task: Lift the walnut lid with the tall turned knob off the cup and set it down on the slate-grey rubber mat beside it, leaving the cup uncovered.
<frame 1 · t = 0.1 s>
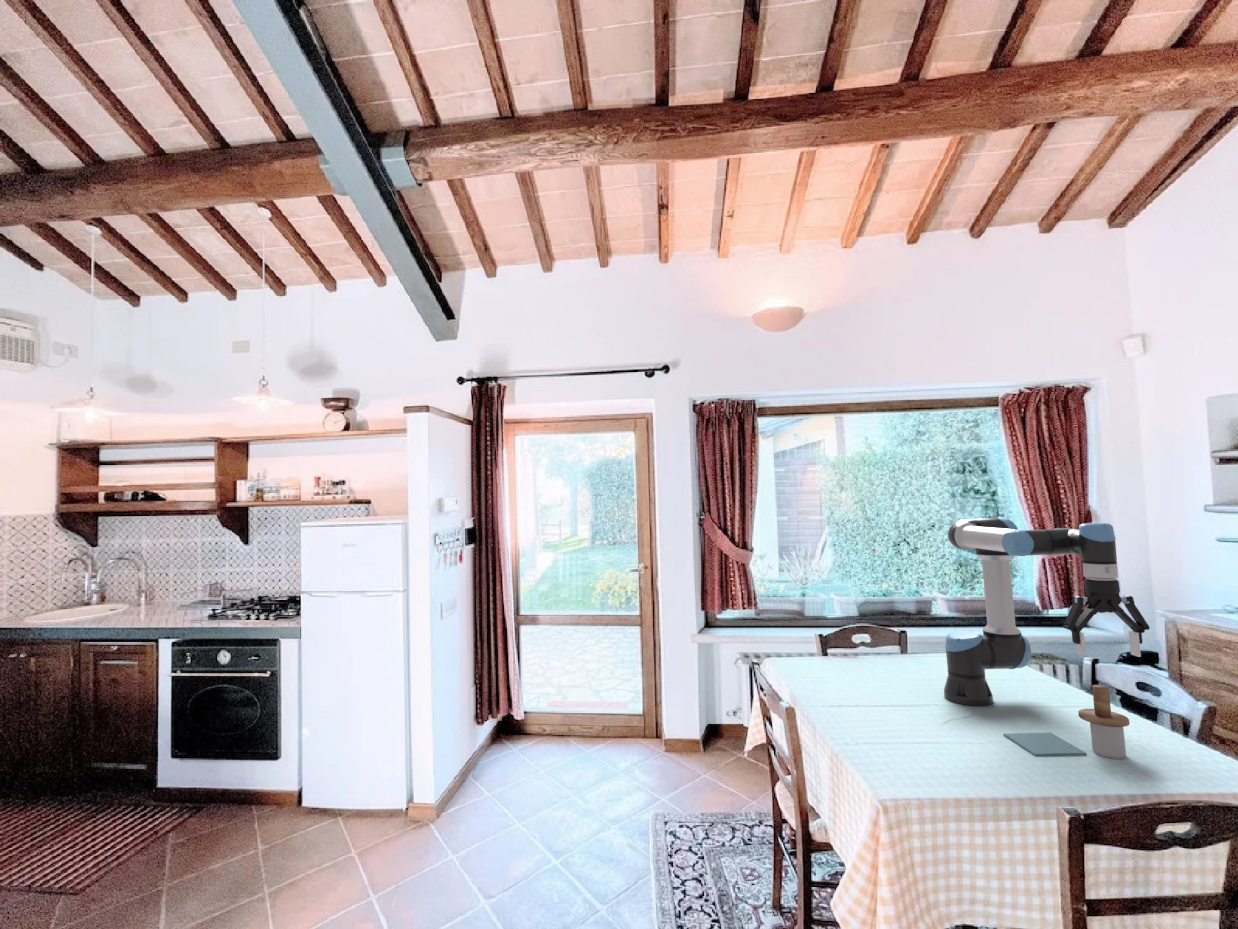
hand: (1108, 655, 157), 28 cm above the table, fingers open, 13 cm apart
cup: (1106, 752, 160), on the table, touching lid
mat: (1043, 744, 166), on the table
lid: (1103, 719, 161), point 9 cm above the table, touching cup
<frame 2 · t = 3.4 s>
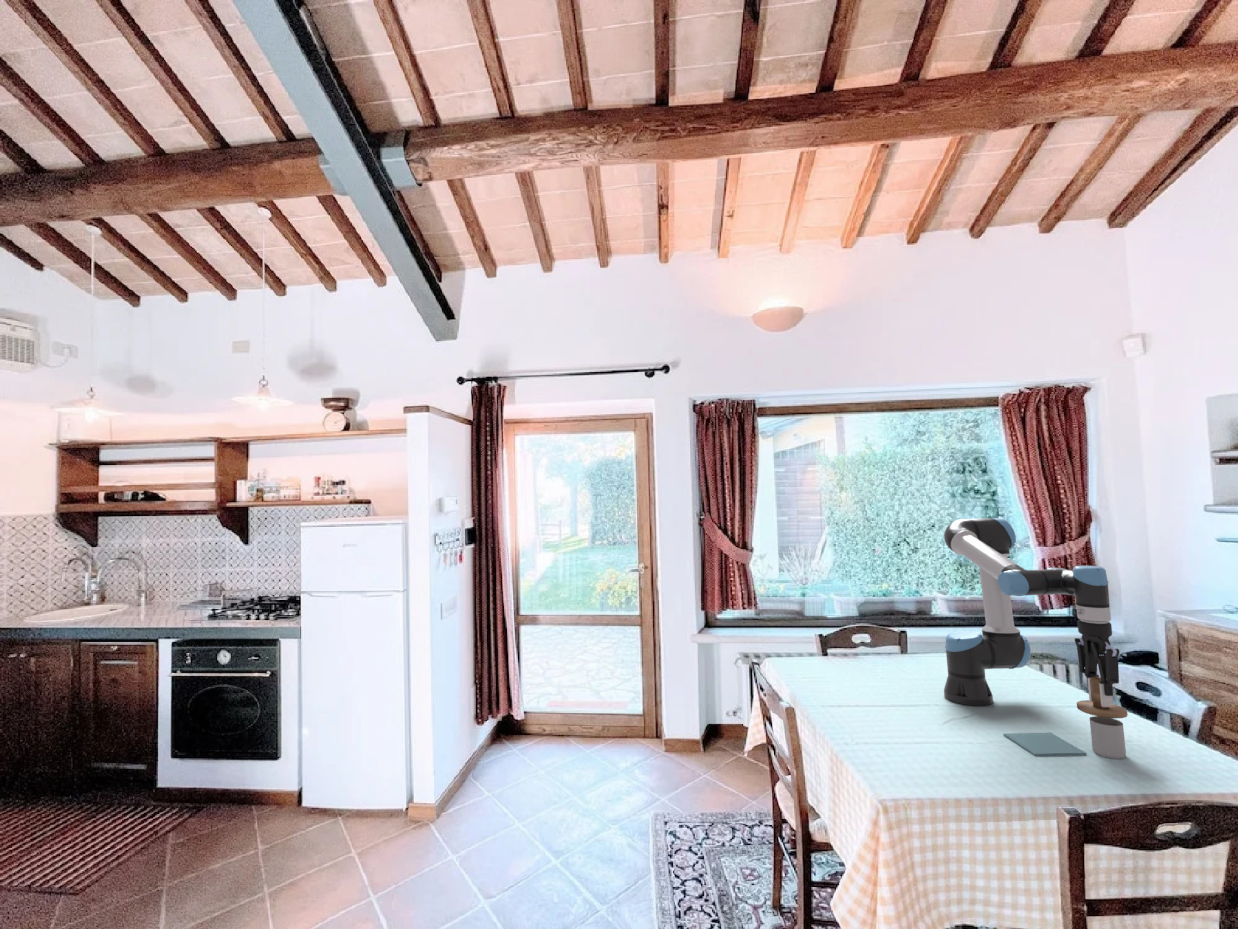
hand: (1101, 703, 161), 13 cm above the table, fingers closed on lid, 3 cm apart
cup: (1106, 752, 160), on the table
lid: (1101, 710, 161), point 11 cm above the table, touching gripper
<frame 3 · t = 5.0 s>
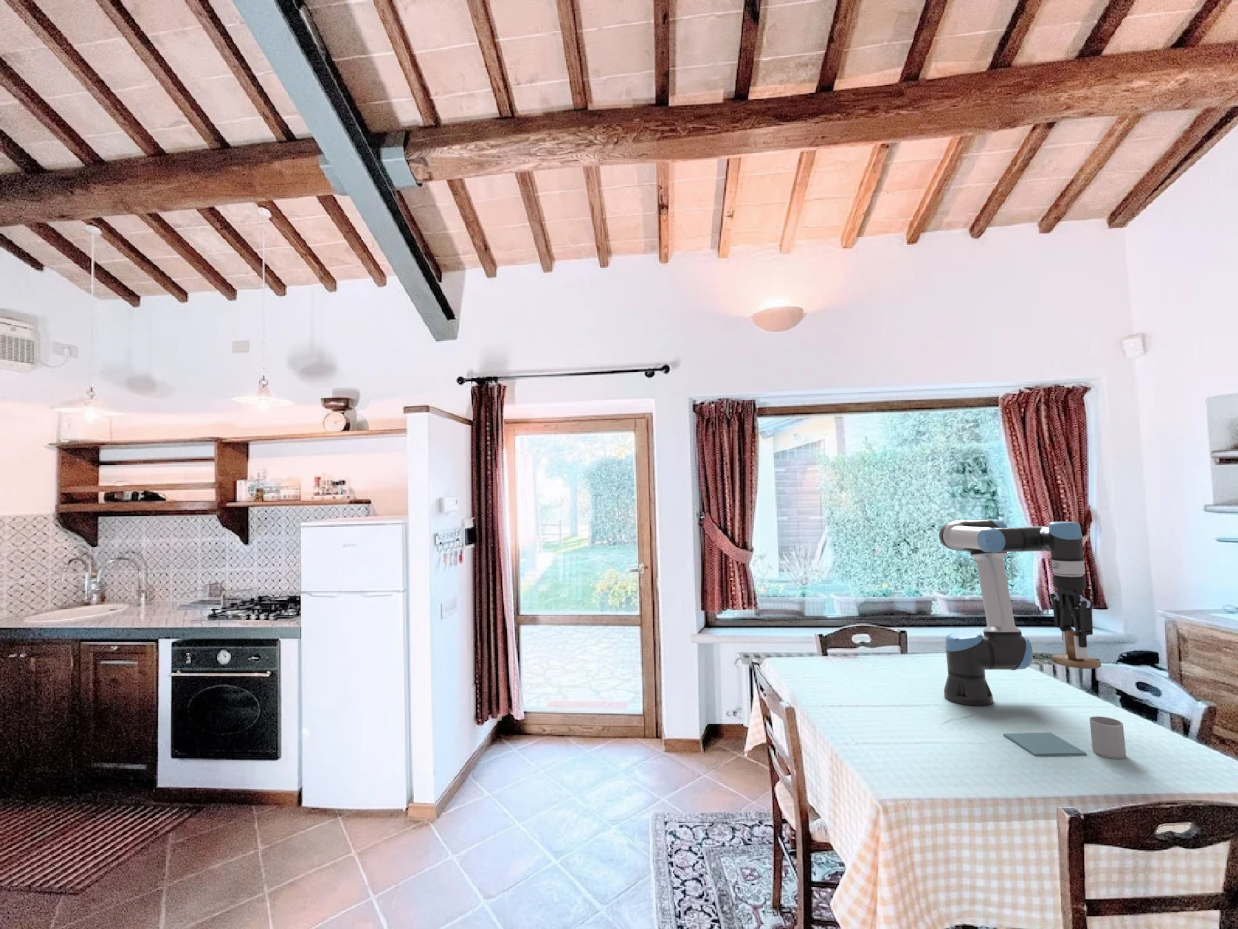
hand: (1075, 655, 164), 26 cm above the table, fingers closed on lid, 3 cm apart
lid: (1076, 663, 164), point 24 cm above the table, touching gripper
everything else where it was.
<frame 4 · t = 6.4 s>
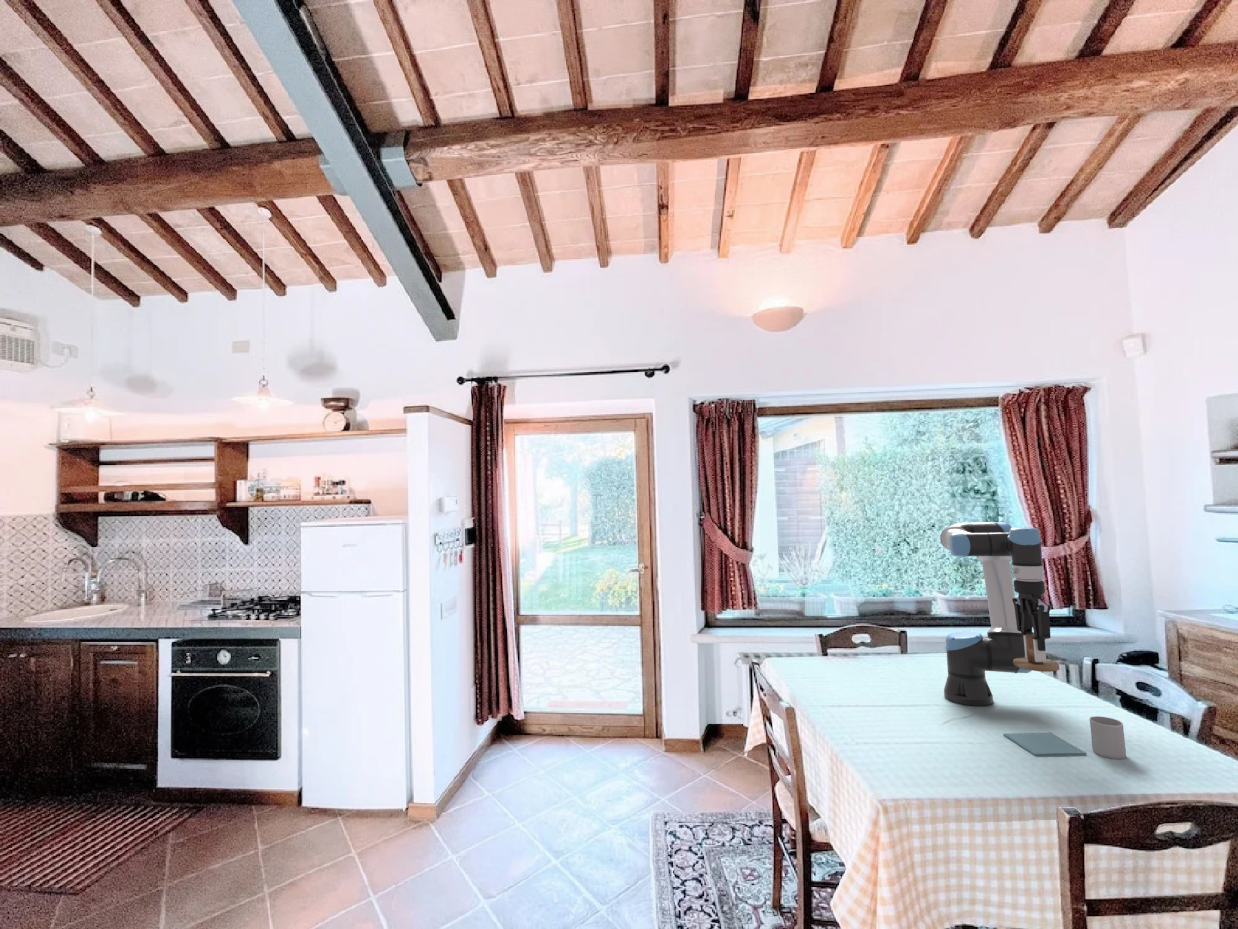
hand: (1035, 659, 167), 25 cm above the table, fingers closed on lid, 3 cm apart
lid: (1036, 666, 167), point 23 cm above the table, touching gripper
everything else where it was.
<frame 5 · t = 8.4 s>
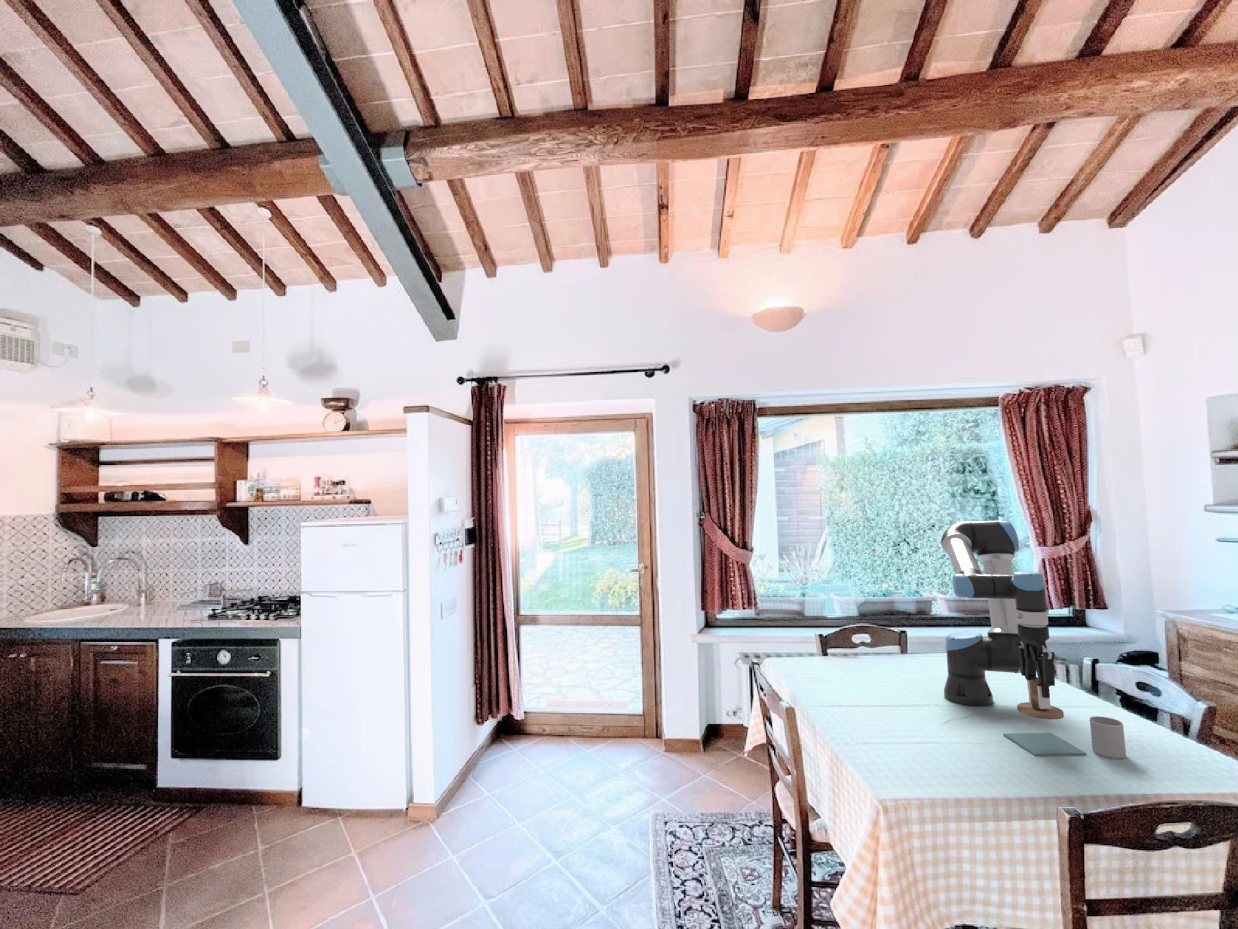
hand: (1039, 705, 166), 11 cm above the table, fingers closed on lid, 3 cm apart
lid: (1040, 712, 166), point 9 cm above the table, touching gripper
everything else where it was.
when the fingers open (4 cm above the table, at t = 10.2 s): lid drops 2 cm, resting on mat.
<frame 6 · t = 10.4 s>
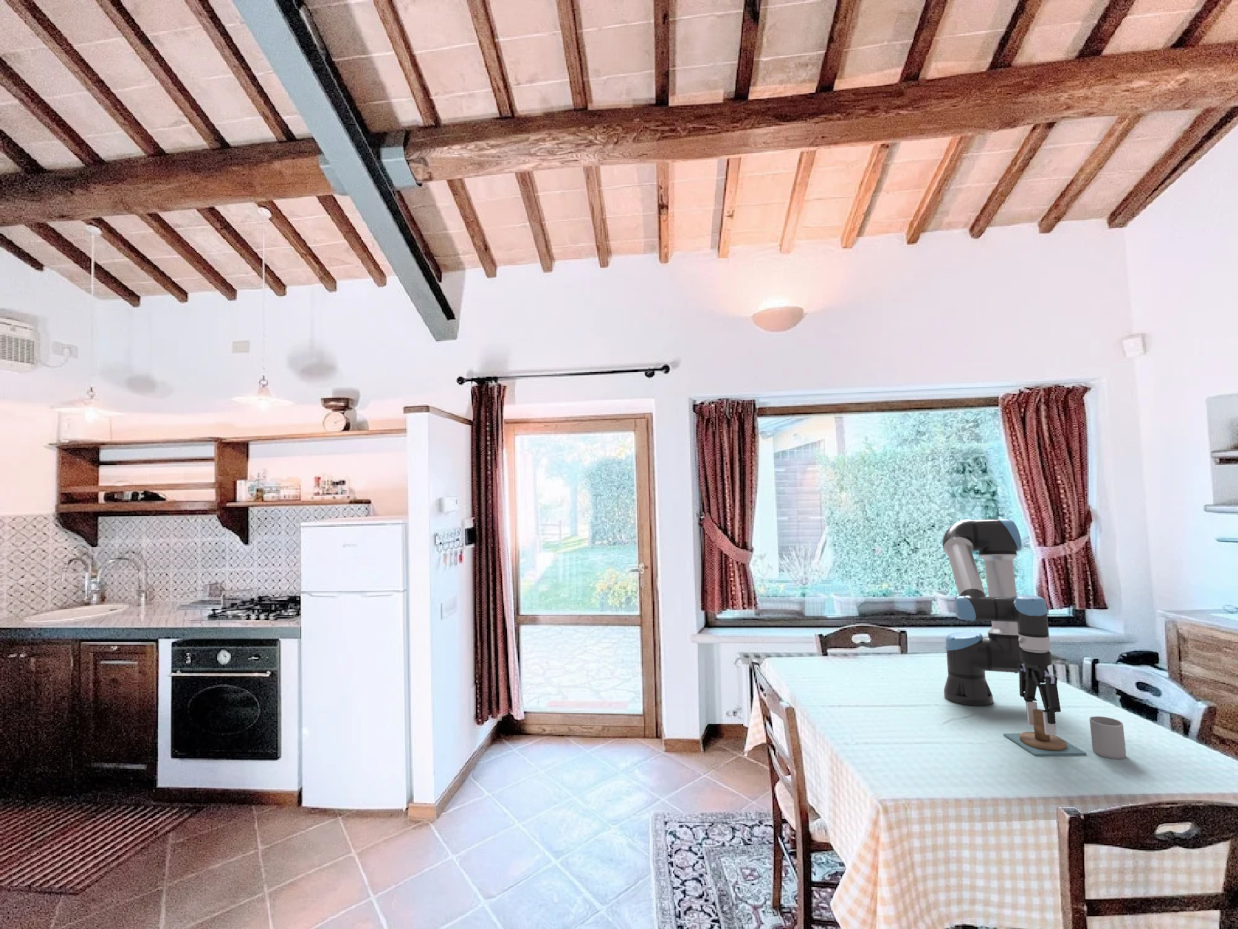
hand: (1041, 729, 166), 4 cm above the table, fingers open, 7 cm apart
lid: (1042, 742, 166), point 1 cm above the table, touching mat
everything else where it was.
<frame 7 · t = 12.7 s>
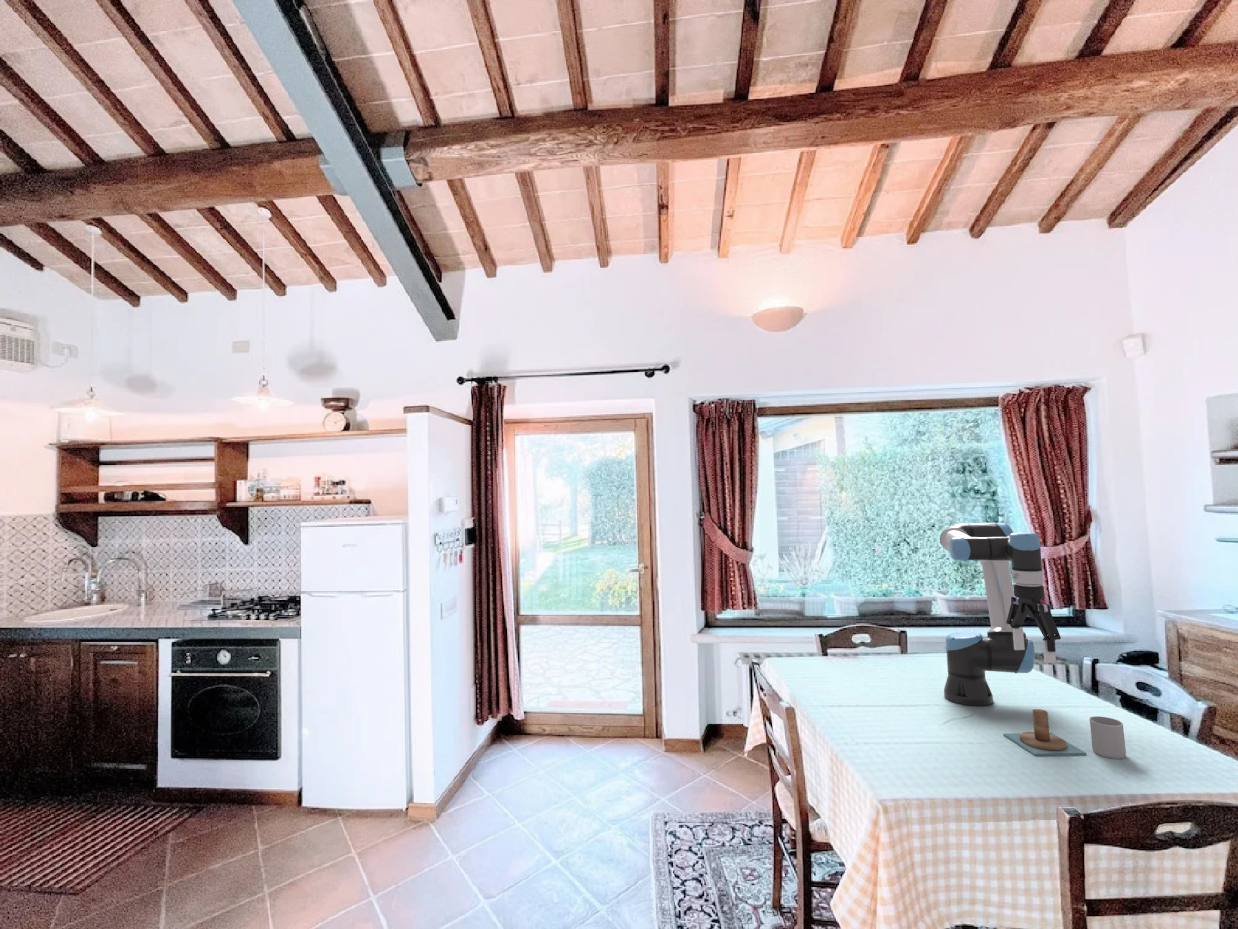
hand: (1034, 656, 169), 25 cm above the table, fingers open, 13 cm apart
nothing on the table moved.
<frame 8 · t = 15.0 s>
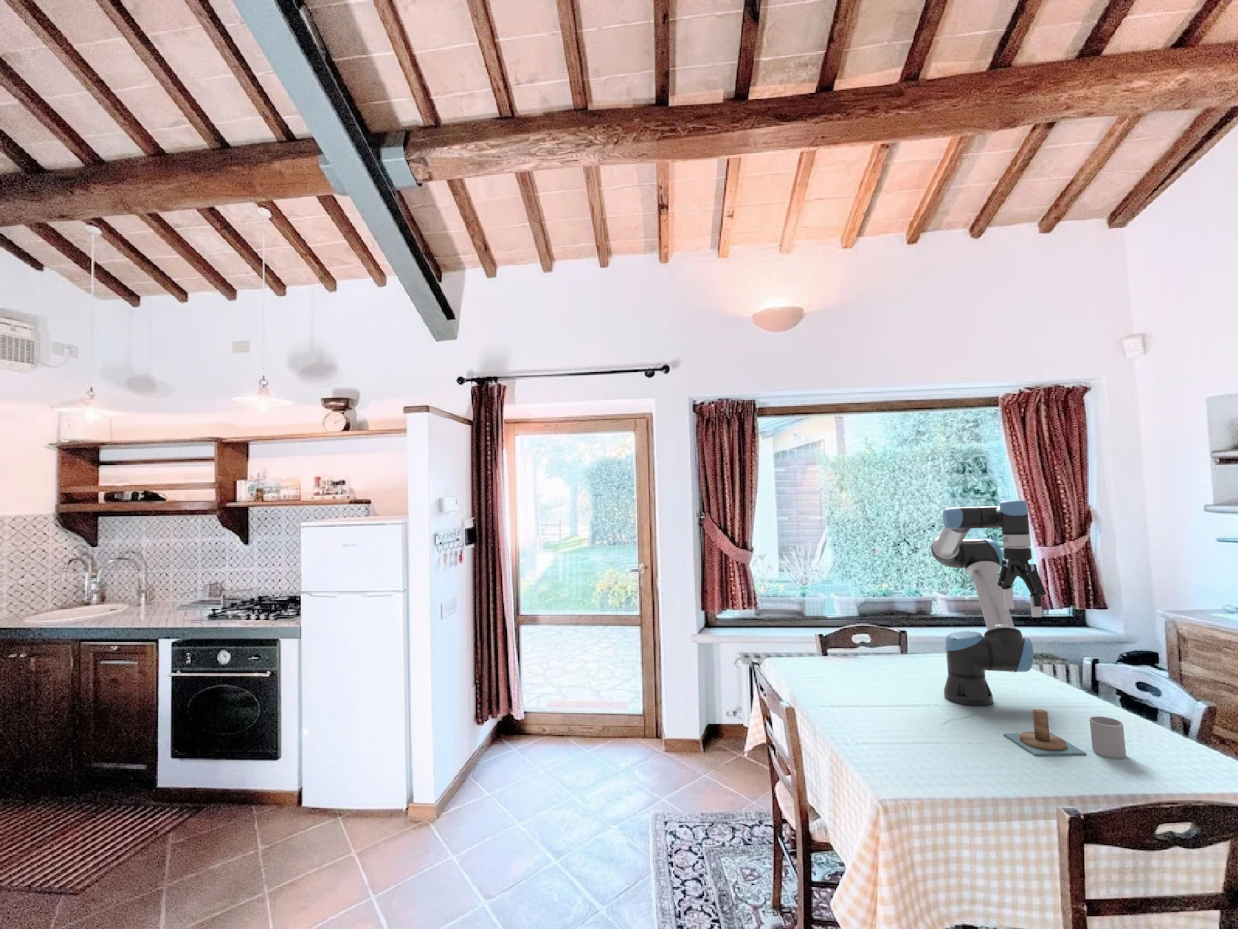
hand: (1022, 612, 185), 35 cm above the table, fingers open, 13 cm apart
nothing on the table moved.
at the end: lid inside the target area on the mat (0.1 cm from its centre), point 0.6 cm above the mat's base; lid tilted 0°; lid touching mat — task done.
